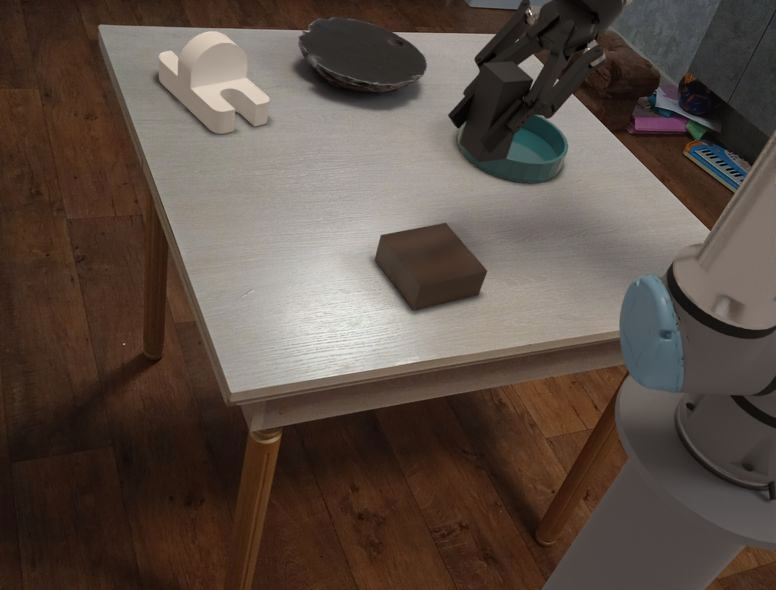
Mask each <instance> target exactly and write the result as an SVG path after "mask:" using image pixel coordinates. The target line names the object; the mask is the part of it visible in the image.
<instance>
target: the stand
mask: <svg viewBox="0 0 776 590" xmlns="http://www.w3.org/2000/svg"><path fill="white" fill-rule="evenodd" d="M374 260H375V262H376V263H377V264H378V266H379V267H380V268H381V270H382V271H383V272H384V274H385V275H386V277H388V279H389V280H390V281H391V283H392V285H394V287H395V288H396V289H397V291H398V292H399V293H400V294H401V296H402V298H403V299H404V300H405V301H406V302H407V304H408V305H409V306H410V308H411V309H412V310H413V311H416V310H420V309H424V308H428V307H433V306H437V305H441V304H445V303H449V302H454V301H457V300H461V299H467V298H470V297H474V296H478V295H480V292H481V289H482V287H483V284H484V281H485V279H486V276H487V273H488V270H487V269H486V267H485V266H484V265H483V264H482V262H481V261H479V259H478V258H477V257H476V256H475V254H473V252H472V251H471V250H470V248H469V247H467V245H466V244H465V243H464V242H463V241H462V240H461V239H460V237H459V236H458V235H457V234H456V233H455V232H454V231H453V229H452V228H451V227H450V226H449V224H448V223H447V222H442V223H438V224H432V225H426V226H421V227H416V228H411V229H405V230H399V231H395V232H389V233H384V234H380V237H379V240H378V245H377V249H376V252H375V256H374Z"/></svg>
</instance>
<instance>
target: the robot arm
mask: <svg viewBox="0 0 776 590" xmlns="http://www.w3.org/2000/svg"><path fill="white" fill-rule="evenodd" d="M633 1H634V0H550V1H548V2H546V3H544V4H543V5H536V4H532V3H531V1H530V0H521V1H520V3H519V5H518V7H517V8H516V11H515V13H514V14H513V16H511V18H510V19H509V20H507V22H506V23H505V24H504V25H503V26H502V27H501V28H500V30H498V32H497V33H496V34H495V35H494V36H492V38H491V39H490V40H489V41H488V42H487V43H486V44H485V45H484V47H483V48H481V50H480V51H479V52H478V53H477V54H476V55H475V57H474V62H475V64H476V67H477V68H478V71H479V72H478V74H477V75H476V76H475V77H474V78H473V80H471V82H470V83H469V84H468V85H467V86H466V87H465V88H464V90H463V92H462V95H463V98H462V99H461V100H460V101H459V102H458V103H457V104H456V106H454V108H453V109H451V111H450V112H449V113H448V114H447V116H448V118H449V119H450V121H451V122H452V124H453V126H454V127H455V128H456V129H458V130H459V129H460V127H461V126H462V125H463V124H464V123H465V122H466V120H467V117H468V113H469V110H470V107H471V103H472V100H473V96H474V93H475V89H476V86H477V83H478V79H479V76H480V72H481V69H482V66H483V63H495V62H509V61H513V62H514V63H515V64H516V65H517V66H519V65H520V64H522V63H523V62H525V61H526V60H527V59H529V58H530V57H532V56H533V55H534V54H539V53H541V52H543V51H544V50H547V51H549V56H548V57H547V59H546V61H545V62H544V64H543V66H542V68H541V69H540V72H539V73H538V75H537V77H536V79H535V80H534V81H533V83H532V86H531V88H530V91H529V93H528V95H527V96H526V97H524V96H523V101H524V104H523V103H522V102H521V101H520V100H518V99H517V100H516V101H515V102H514V103H513V104H512V105H511V106H510V107H509V108H508V110H507V111H506V112H505V113H504V114H503V115H502V116H501V117H500V118H499V119H498V121H497V122H496V123H495V124H494V125H493V126H492V127H491V128H490V129H489V130H488V131H487V133H486V134H485V135H484V136H483V137H482V138H481V139H480V141H481V143H482V144H483V146H484V147H485V149H486V151H488V152H489V153H490V154H491V153H492V152H493V150H494V149H495V148H496V147H497V146H498V145H499V144H500V143H501V142H502V141H503V140H504V138H505V137H506V136H507V135H508V134H509V133H510V132H511V133H513V134H515V133H517V132H518V131H519V130H520V129H521V128H522V127H523V126H524V125H525V124H526V122H527V121H528V120H529V119H530V118H531V117H532V116H534V115H540V116H542V117H544V118H545V119H547V120H549V119H551V118H552V117H554V115H556V113H557V112H558V111H559V110H560V108H561V107H562V106H563V105H564V104H565V103H566V102H567V101H568V100H569V98H571V96H572V95H573V94H574V92H575V91H576V90H578V88H579V87H580V86H581V85H582V83H584V81H585V80H586V79H587V78H588V77H589V76H590V75H591V73H593V72H595V71H596V70H597V69H599V68H601V67H602V66H604V65H605V64H606V63H607V56H606V53H605V49H604V47H603V45H602V44H599V43H598V39H599V36H600V35H602V34H604V33H605V32H606V31H607V30H608V29H609V28H610V27H611V26H612V25H613V23H614V22H615V21H616V20H617V19H618V18H619V17H620V16H621V15H622V13H623V9H625V8H627V7H628V6H629V5H631V3H632V2H633ZM535 21H537V23H536V24H535ZM530 26H531V27H530ZM529 27H530V28H529ZM524 34H525V35H524ZM580 52H582V54H581V55H580V56H579V57H578V58H577V59H576V60H575V61H574V62H573V63H572V65H570V67H569V68H568V69H567V67H568V65H569V63H570V61H571V59H572V58H573V56H574V55H575V54H577V53H580ZM564 69H567V70H566V72H564V74H563V75H562V76H561V77H560V75H561V73H562V71H563V70H564ZM559 77H560V78H559ZM618 328H619V344H620V350H621V354H622V355H621V356H622V358H623V362H624V364H625V367H626V369H627V371H628V374H629V373H630V375H631V376H632V377H633V379H634V380H635V381H636V382H637V383H638V384H640V385H641V386H643V387H645V388H647V389H653V390H660V391H667V392H670V393H672V394H673V393H675V394H677V393H685V395H684V396H683V397H682V399H681V400H680V402H679V403H678V405H677V407H676V409H675V414H674V422H675V427H676V431H677V433H678V436H679V438H680V440H681V442H682V443H683V445H684V447H685V448H686V449H687V451H688V452H689V453H690V454H691V455H692V457H693V458H694V459H695V460H696V461H697V462H698V463H700V464H701V465H702V466H703V467H704V468H705V469H707V470H708V471H710V472H711V473H712V474H714V475H716V476H717V477H719V478H721V479H722V480H724V481H726V482H729V483H731V484H733V485H736V486H739V487H742V488H746V489H750V490H757V491H769V498H770V500H776V491H775V489H776V128H775V129H774V131H773V132H772V134H771V136H769V138H768V140H767V142H766V144H765V145H764V147H763V148H762V150H760V153H759V155H758V156H757V157H756V159H755V161H754V162H753V164H752V165H751V167H750V169H749V170H748V171H747V173H746V174H745V176H744V178H743V179H742V181H741V183H740V184H739V186H738V187H737V189H736V190H735V192H734V193H733V195H732V197H731V198H730V200H729V201H728V203H727V204H726V206H725V207H724V209H723V211H722V212H721V214H720V215H719V217H718V219H717V220H716V222H715V224H714V225H713V227H712V228H711V230H710V231H709V233H708V234H707V236H706V238H705V239H704V241H703V242H702V243H700V242H699V243H694V244H690V245H687V246H685V247H684V248H682V249H680V250H679V251H678V253H677V254H676V255H675V257H674V259H673V261H672V262H671V264H670V265H669V267H668V268H667V270H666V272H665V273H664V274H663V275H661V276H658V275H657V276H656V275H655V274H652V273H651V274H647V275H645V276H639V277H637V278H635V279H634V280H633V281H632V282H631V283H630V284H629V286H628V287H627V289H626V292H625V294H624V296H623V300H622V302H621V306H620V313H619V324H618Z"/></svg>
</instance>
